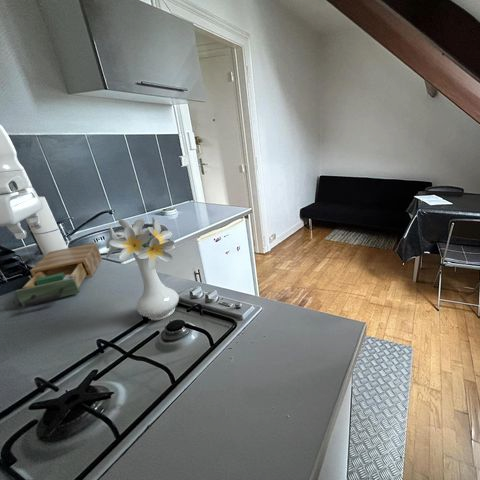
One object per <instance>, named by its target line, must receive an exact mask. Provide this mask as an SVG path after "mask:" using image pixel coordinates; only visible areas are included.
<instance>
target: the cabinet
mask: <svg viewBox="0 0 480 480" xmlns="http://www.w3.org/2000/svg"><path fill="white" fill-rule="evenodd" d="M102 259H103V256H102V255H101V251H100V250H99V247H98V244H97V243H96V242H93V243H90V244H89V243H88V244H83V245H79V246H73V247H68V248H67V249H61V250H56V251H51V252H49V253H48V254H47V255H46V256H45V257H44V256H43V257H42V258H41V259H40V260H39V261H38V262H37V263H36V264H35V265H34V266H33V267H32V268H31V269H30V270H29V271H30V274H31V276H32V277H33V276H34V275H35V274H36V273H37V272H38V271H42V270H47V269H52V268H57V267H62V266H66V265H71V264H76V263H81V262H83V263H84V265H85V267H86V270H87V272H88V273H87V274H86V276H85V278H84V279H88V278H92V277H93V276H94V275H95V272H96V271H97V269H98V267H99V265H100V263H101V261H102Z"/></svg>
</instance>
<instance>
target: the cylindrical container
mask: <svg viewBox="0 0 480 480" xmlns="http://www.w3.org/2000/svg"><path fill="white" fill-rule="evenodd" d="M38 197H39V199H40V201H41V203H42V205H43V209H42V210H40V211H38V214H39V222H40V224H41V228H39V229H34V230H33V229H31V227H30V225H29V224H30V221H29V218H28V217H27V218H25V219H24V220H25V221H26V223H27V226H28V225H29V227H30V229H31V231H32V233H33V235H34V237H35V239H36V241H37V243H38V245H39V247H40V249H41V251H42V253H43V254H42V255H43V258H44V257H45V256H46V255H47V254H48V253H49V252H51V251H56V250H61V249H67V248H69V247H68V245H67V243H66V241H65V239H64V237H63V234H62V232H61V230H60V227H59V225H58V224H57V221H56V219H55V217H54V215H53V211H52V210H51V208H50V206H49V203H48V201H47V199H46V197H45V196H38Z"/></svg>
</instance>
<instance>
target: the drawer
mask: <svg viewBox="0 0 480 480" xmlns="http://www.w3.org/2000/svg"><path fill="white" fill-rule="evenodd" d="M60 273H64V274H65V276H66V275H70V274H71V276H70V277H69V279H64V280H60V281H55V282H51V283H47V284H42V285H38V286H37V284H36V282H35V281H36V280H37V279H38V278H41V277H46V276H50V275H55V274H60ZM87 273H88V272H87V270H86V267H85V265H84V263H83V262H81V263H76V264H71V265H66V266H62V267H57V268H52V269H47V270H42V271H38V272H37V273H36V274H35V275H34V276H32V277H31V278H30V279H29V280H28V281H27V282H26V283H25V284H24V286H22V288H21V289H16V290H15V291H14V295H15V296H16V297H17V299H18V301H19V303H20V305H21V306H22V307H28V306H33V305H36V304H42V303H45V302H48V301H53V300H57V299H60V298H64V297H68V296H71V295H75V294H79V293H81V289H80V286H81V285H82V283H83V281H84V279H86V278H85V276H86V274H87Z"/></svg>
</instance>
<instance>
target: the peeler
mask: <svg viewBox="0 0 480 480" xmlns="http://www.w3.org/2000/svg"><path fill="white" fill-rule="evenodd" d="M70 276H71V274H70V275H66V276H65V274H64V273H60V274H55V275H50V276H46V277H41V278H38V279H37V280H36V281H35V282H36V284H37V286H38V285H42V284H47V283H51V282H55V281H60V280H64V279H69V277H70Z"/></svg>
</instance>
